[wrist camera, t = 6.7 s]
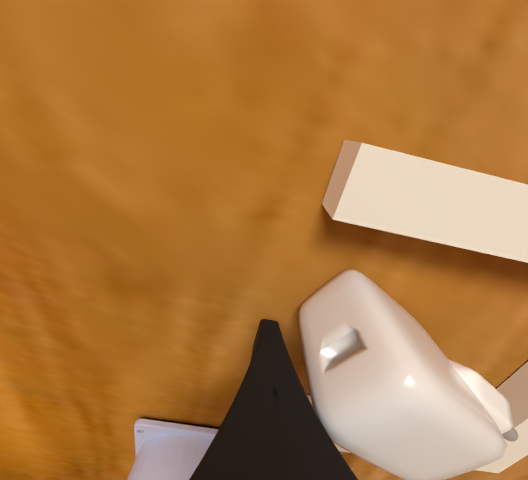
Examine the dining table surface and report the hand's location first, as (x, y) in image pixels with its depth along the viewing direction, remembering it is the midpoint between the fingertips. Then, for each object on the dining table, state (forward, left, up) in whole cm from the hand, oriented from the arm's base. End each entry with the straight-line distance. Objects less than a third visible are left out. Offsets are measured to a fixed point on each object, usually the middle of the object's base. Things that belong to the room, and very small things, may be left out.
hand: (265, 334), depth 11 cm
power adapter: (0, -7, -2) cm, 7 cm away
